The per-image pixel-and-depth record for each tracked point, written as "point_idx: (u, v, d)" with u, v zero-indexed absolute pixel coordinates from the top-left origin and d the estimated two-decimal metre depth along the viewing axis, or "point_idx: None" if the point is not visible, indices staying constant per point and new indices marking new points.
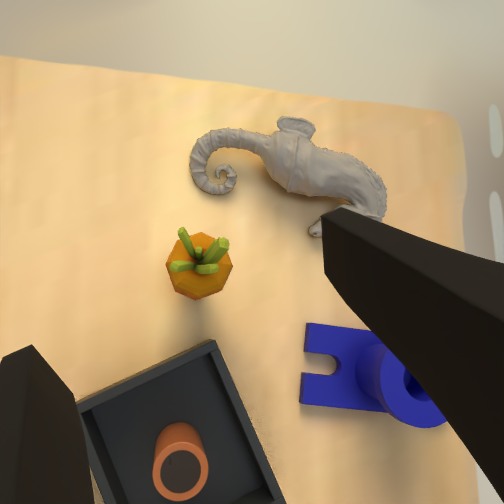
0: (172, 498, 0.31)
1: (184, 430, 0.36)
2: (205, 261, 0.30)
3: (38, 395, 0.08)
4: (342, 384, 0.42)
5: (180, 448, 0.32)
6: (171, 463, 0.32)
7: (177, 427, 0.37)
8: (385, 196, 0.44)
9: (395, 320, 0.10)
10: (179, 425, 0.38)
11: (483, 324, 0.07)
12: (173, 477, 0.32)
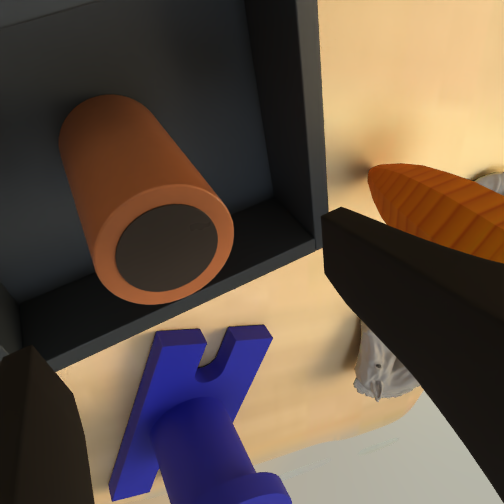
0: (104, 236, 0.11)
1: None
2: None
3: (38, 395, 0.08)
4: (180, 388, 0.27)
5: (220, 245, 0.13)
6: (190, 227, 0.12)
7: None
8: (388, 396, 0.37)
9: (395, 320, 0.10)
10: None
11: (483, 324, 0.07)
12: (159, 235, 0.12)
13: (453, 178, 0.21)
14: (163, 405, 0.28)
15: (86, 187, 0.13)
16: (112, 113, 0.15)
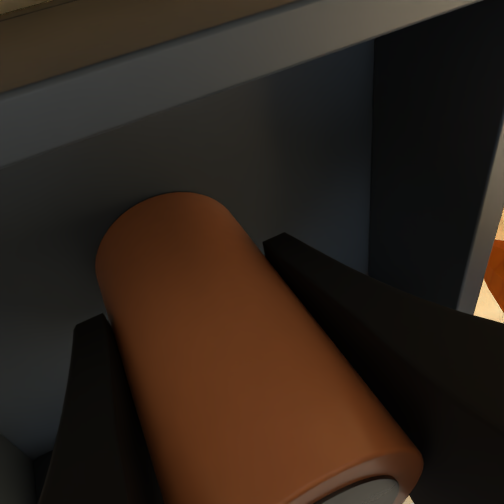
0: None
1: None
2: None
3: (116, 358, 0.09)
4: None
5: (394, 501, 0.07)
6: (361, 497, 0.07)
7: None
8: None
9: None
10: None
11: (402, 370, 0.07)
12: None
13: None
14: None
15: (166, 412, 0.07)
16: (187, 238, 0.09)
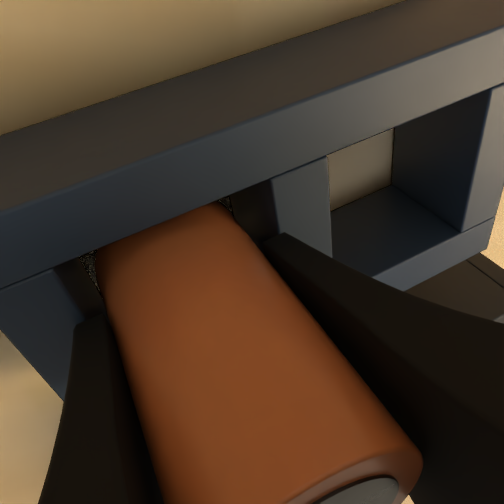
0: None
1: None
2: None
3: (116, 358, 0.09)
4: None
5: (394, 500, 0.07)
6: (360, 496, 0.07)
7: None
8: None
9: None
10: None
11: (402, 370, 0.07)
12: None
13: None
14: None
15: (166, 411, 0.07)
16: (188, 238, 0.09)
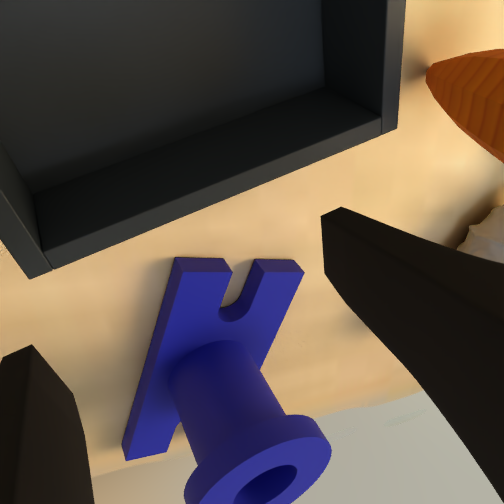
0: None
1: None
2: None
3: (38, 395, 0.08)
4: (202, 327, 0.24)
5: None
6: None
7: None
8: None
9: (395, 320, 0.10)
10: None
11: (483, 324, 0.07)
12: None
13: None
14: (183, 347, 0.24)
15: None
16: None
